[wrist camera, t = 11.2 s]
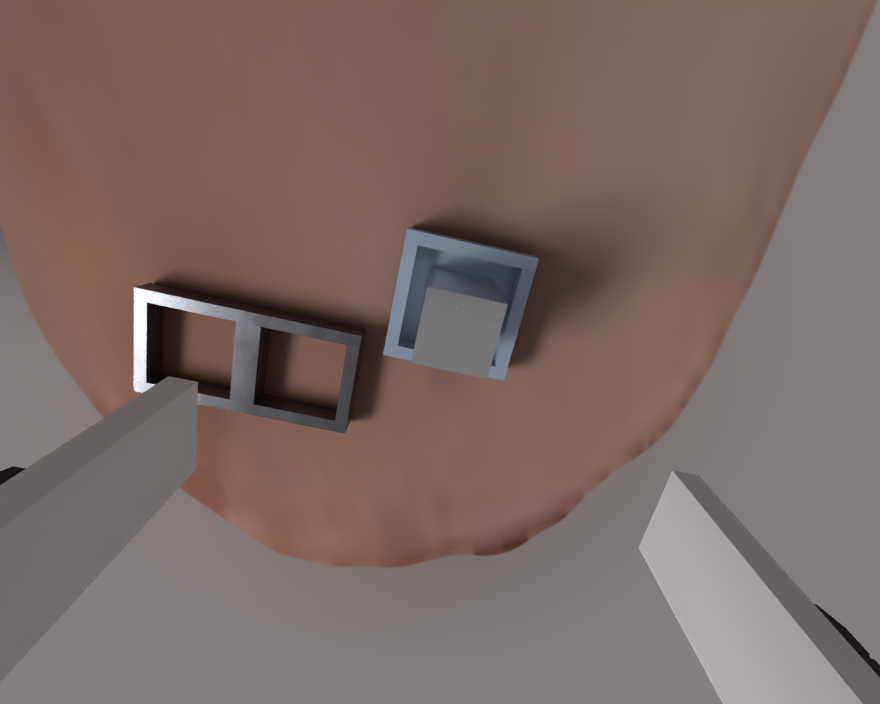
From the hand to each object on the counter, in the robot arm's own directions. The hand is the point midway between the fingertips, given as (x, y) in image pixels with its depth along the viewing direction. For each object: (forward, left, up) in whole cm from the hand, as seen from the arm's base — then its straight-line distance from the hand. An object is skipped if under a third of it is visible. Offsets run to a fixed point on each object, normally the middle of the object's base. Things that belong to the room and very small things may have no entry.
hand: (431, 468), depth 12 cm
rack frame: (+9, -15, -26) cm, 31 cm away
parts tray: (+1, +1, -26) cm, 26 cm away
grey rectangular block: (+1, +1, -25) cm, 25 cm away
